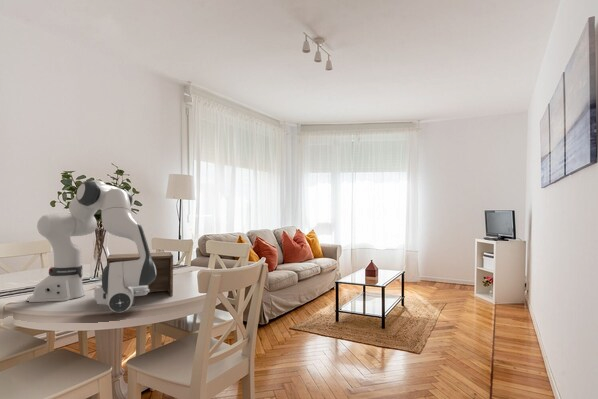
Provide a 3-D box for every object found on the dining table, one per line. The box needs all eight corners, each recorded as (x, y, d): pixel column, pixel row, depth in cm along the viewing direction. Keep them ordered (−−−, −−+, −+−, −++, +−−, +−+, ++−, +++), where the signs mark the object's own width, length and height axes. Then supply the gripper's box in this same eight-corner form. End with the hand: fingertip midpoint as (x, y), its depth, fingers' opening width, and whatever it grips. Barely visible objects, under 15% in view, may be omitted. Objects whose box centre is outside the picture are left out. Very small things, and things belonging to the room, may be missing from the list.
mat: (108, 307, 158) (108, 306, 158) (109, 302, 168) (109, 300, 168) (134, 305, 162) (134, 303, 162) (134, 300, 171) (134, 298, 171)
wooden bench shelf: (172, 295, 180) (173, 255, 180) (106, 301, 169) (106, 258, 169) (170, 289, 194) (170, 252, 194) (108, 294, 183) (109, 254, 183)
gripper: (149, 283, 154) (148, 278, 167) (92, 288, 146) (95, 282, 159) (149, 299, 154) (148, 292, 166) (92, 304, 146) (95, 297, 158)
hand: (122, 287), depth 162 cm, fingers open, 8 cm apart
